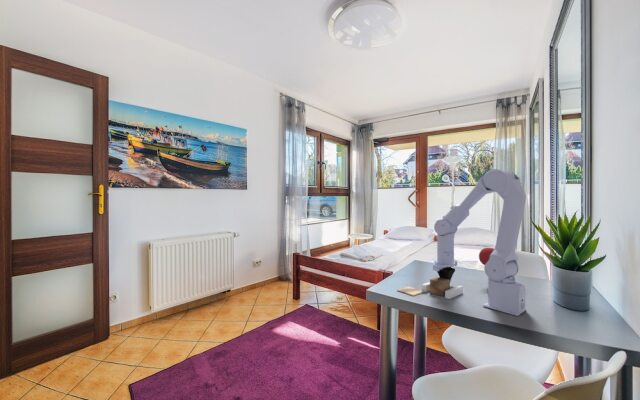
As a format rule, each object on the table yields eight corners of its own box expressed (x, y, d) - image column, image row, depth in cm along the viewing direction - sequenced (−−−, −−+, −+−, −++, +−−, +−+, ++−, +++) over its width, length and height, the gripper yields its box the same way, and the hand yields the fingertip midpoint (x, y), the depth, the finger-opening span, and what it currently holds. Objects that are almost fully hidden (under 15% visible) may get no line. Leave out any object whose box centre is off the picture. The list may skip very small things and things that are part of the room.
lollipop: (500, 288, 104) (500, 250, 104) (477, 284, 109) (477, 248, 109) (501, 283, 110) (501, 247, 110) (480, 280, 115) (480, 245, 115)
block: (449, 293, 98) (449, 279, 98) (443, 296, 95) (443, 282, 95) (436, 289, 102) (436, 276, 102) (429, 292, 99) (429, 279, 99)
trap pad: (461, 289, 103) (461, 289, 103) (457, 291, 101) (457, 290, 101) (446, 285, 108) (446, 285, 108) (442, 287, 106) (442, 286, 106)
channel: (462, 293, 99) (462, 286, 99) (449, 299, 93) (449, 292, 93) (435, 286, 107) (435, 279, 107) (421, 291, 101) (421, 284, 101)
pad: (424, 292, 100) (424, 291, 100) (413, 296, 95) (413, 295, 95) (408, 287, 105) (408, 286, 105) (397, 290, 101) (397, 289, 101)
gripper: (444, 247, 109) (444, 281, 109) (425, 251, 100) (425, 287, 100) (462, 250, 103) (462, 285, 103) (443, 254, 95) (443, 293, 95)
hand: (445, 287), depth 101 cm, fingers closed
